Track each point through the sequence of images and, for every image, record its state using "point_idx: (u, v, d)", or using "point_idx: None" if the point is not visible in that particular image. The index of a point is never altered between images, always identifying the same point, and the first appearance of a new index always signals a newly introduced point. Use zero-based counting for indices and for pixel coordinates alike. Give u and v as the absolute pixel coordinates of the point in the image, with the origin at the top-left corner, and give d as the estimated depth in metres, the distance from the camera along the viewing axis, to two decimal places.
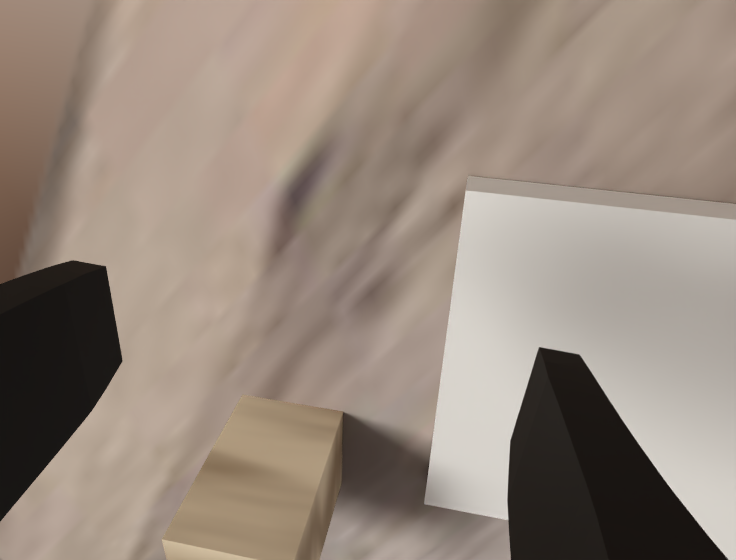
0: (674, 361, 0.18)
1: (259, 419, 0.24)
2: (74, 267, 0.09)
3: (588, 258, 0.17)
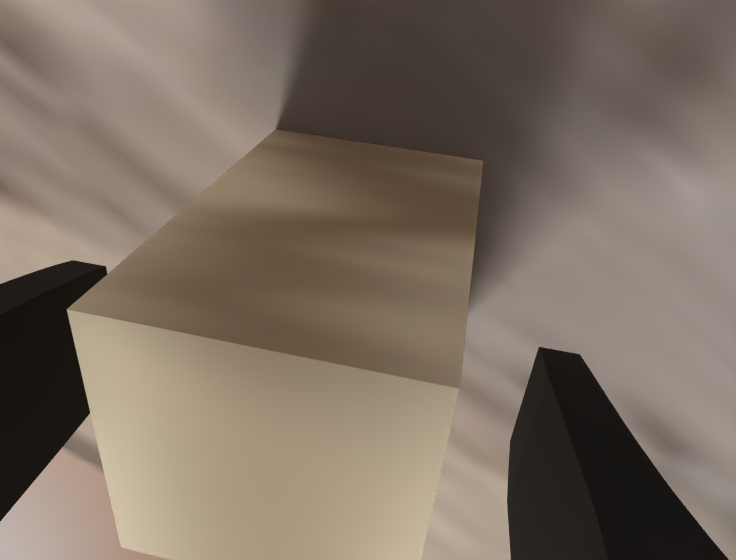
0: None
1: None
2: (74, 267, 0.09)
3: None
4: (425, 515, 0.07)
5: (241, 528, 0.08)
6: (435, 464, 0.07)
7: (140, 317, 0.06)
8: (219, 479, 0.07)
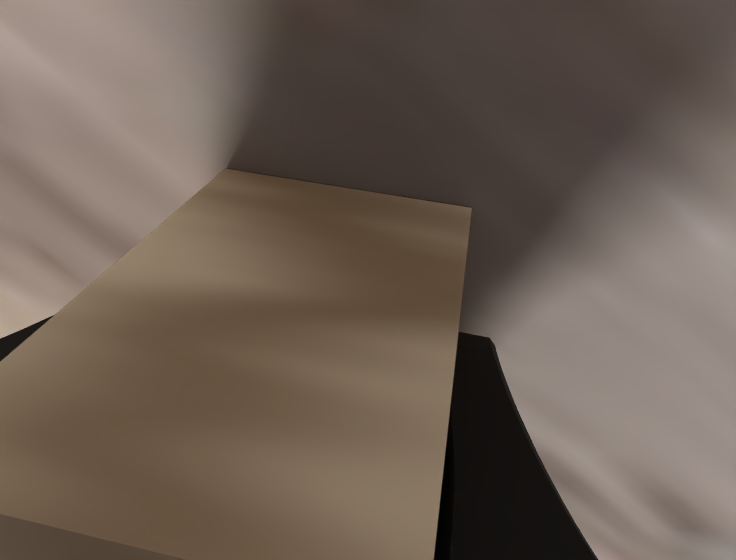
0: None
1: None
2: None
3: None
4: None
5: None
6: None
7: None
8: None
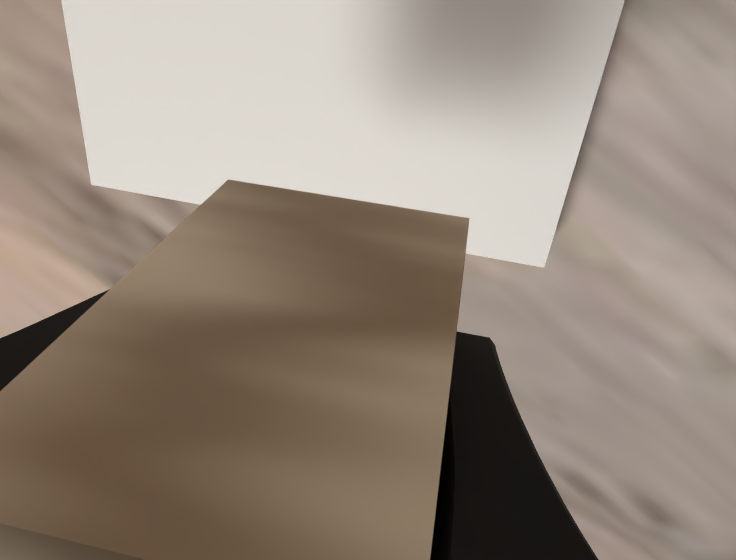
0: None
1: None
2: None
3: (127, 65, 0.16)
4: None
5: None
6: None
7: None
8: None
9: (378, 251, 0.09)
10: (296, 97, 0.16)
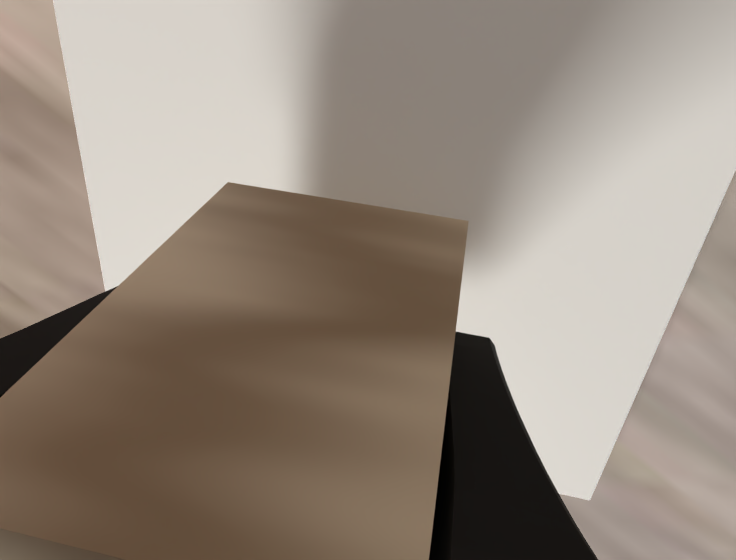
0: None
1: None
2: None
3: None
4: None
5: None
6: None
7: None
8: None
9: (377, 254, 0.09)
10: None
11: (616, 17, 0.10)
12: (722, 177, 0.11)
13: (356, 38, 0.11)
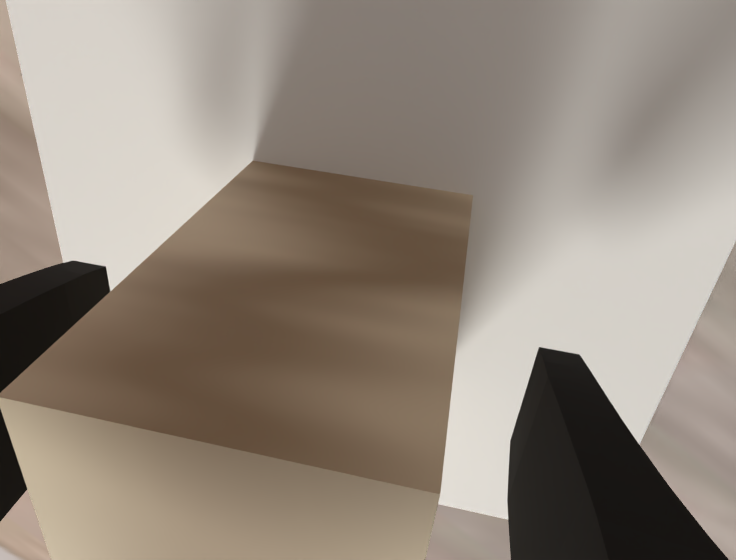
0: None
1: None
2: (74, 267, 0.09)
3: None
4: None
5: None
6: None
7: (80, 406, 0.06)
8: None
9: (392, 221, 0.10)
10: None
11: (626, 25, 0.09)
12: None
13: (338, 47, 0.10)
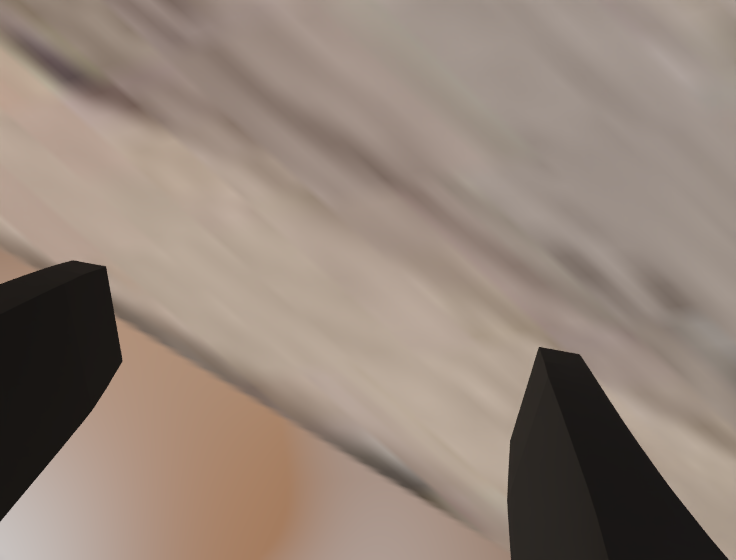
0: None
1: None
2: (74, 267, 0.09)
3: None
4: None
5: None
6: None
7: None
8: None
9: None
10: None
11: None
12: None
13: None
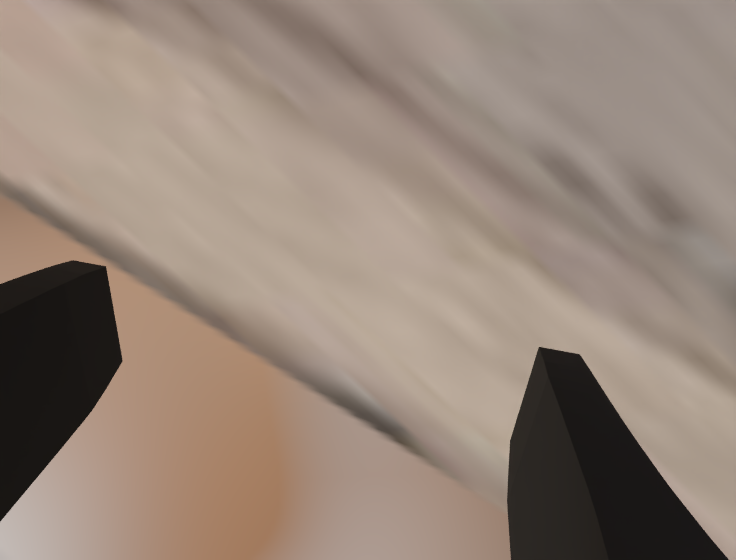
0: None
1: None
2: (74, 267, 0.09)
3: None
4: None
5: None
6: None
7: None
8: None
9: None
10: None
11: None
12: None
13: None
